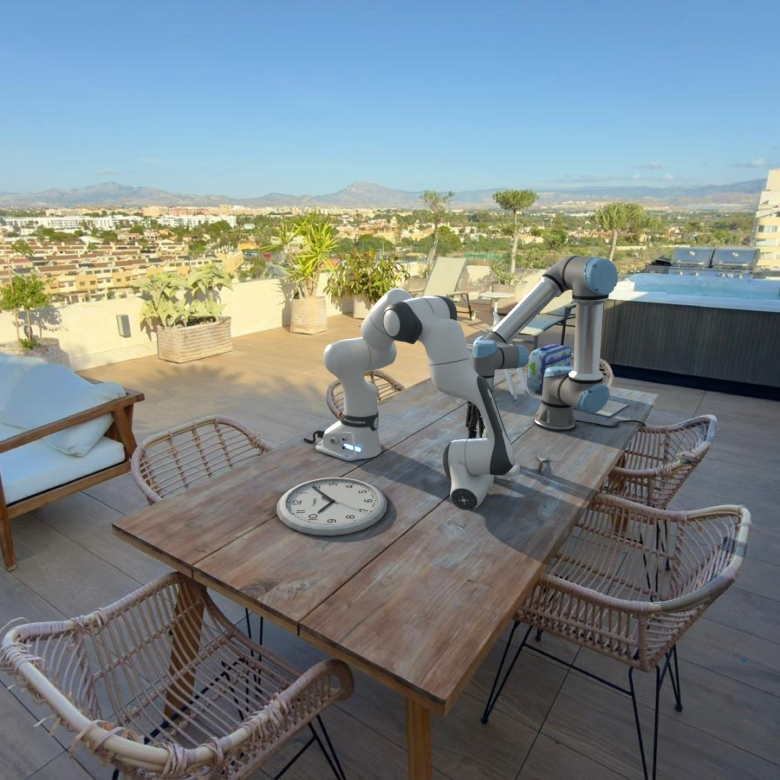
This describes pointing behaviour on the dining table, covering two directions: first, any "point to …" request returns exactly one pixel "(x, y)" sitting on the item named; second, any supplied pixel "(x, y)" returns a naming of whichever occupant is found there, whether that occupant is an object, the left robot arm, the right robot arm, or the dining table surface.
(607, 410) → the invitation card
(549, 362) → the lunch box
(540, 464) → the fork
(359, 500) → the wall clock
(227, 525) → the dining table surface
